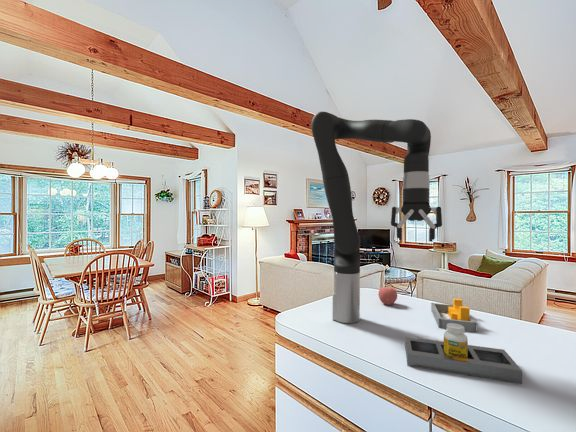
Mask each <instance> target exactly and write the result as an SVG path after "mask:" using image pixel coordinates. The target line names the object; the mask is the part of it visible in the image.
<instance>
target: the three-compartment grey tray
mask: <svg viewBox="0 0 576 432" xmlns="http://www.w3.org/2000/svg"><path fill="white" fill-rule="evenodd" d="M404 350H405V356H406V364H407V367H408V366H409V367H415V368H420V369H426V370H433V371H439V372H445V373H450V374H452V373H453V374H458V375H465V376H471V377H477V378H482V379H489V380H495V381H499V382H500V381H501V382H506V383H507V382H508V383H512V384H520V385H522V384H523V370H522V369H521V368H520V366H519V365H518V364H517V363H516V361H514V359H513V358H512V357H511V356H510V355H509V354H508V352H507V351H506V350H505V349H502V348H497V347H495V348H494V347H486V346H478V345H472V344H468V358H461V357H454V356H447V355H445V354H444V340H443V341H442V340H435V339H426V338H425V339H424V338H418V337H410V336H405V338H404Z"/></svg>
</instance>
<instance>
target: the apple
mask: <svg viewBox="0 0 576 432" xmlns="http://www.w3.org/2000/svg"><path fill="white" fill-rule="evenodd" d="M378 298H379V301H380V302H381V303H382V304H384V305H386V306H391V305H393V304H395V302H396V301H397V299H398V293H397V291H396V289H395V288H393V287H390V286H388V285H386V286H382V287H381V288H380V289H378Z"/></svg>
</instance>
